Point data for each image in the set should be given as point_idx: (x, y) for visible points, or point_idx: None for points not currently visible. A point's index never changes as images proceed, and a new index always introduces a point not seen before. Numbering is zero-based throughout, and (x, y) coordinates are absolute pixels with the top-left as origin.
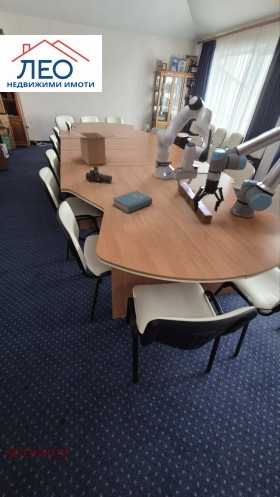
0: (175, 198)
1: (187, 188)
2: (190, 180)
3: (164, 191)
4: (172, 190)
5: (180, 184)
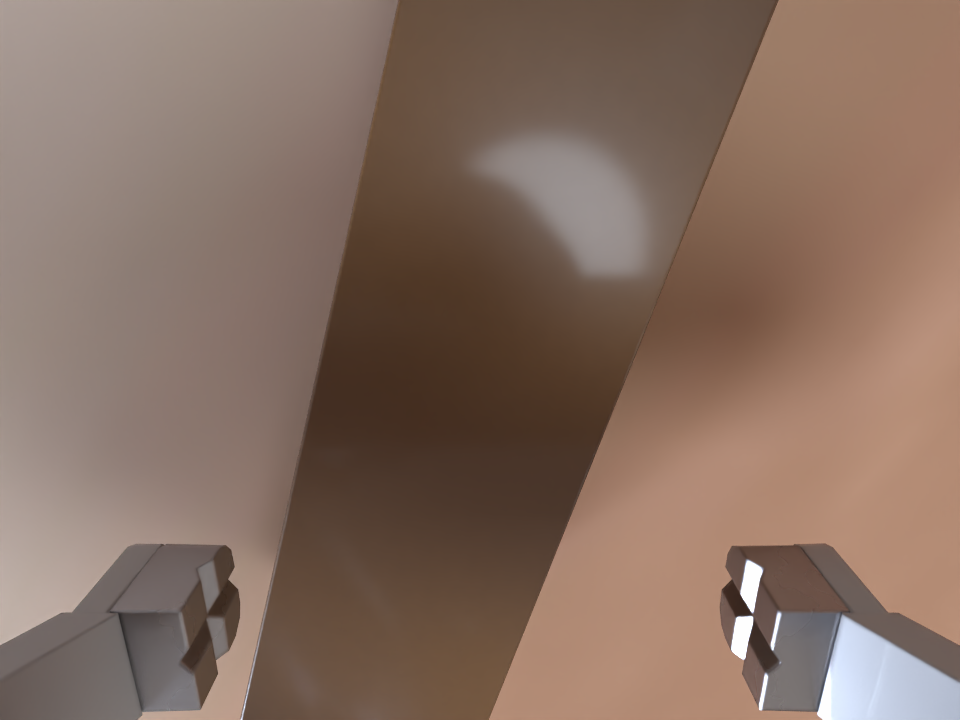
0: (932, 119)
1: (463, 231)
2: (11, 698)
3: None
4: (614, 617)
5: (495, 680)
